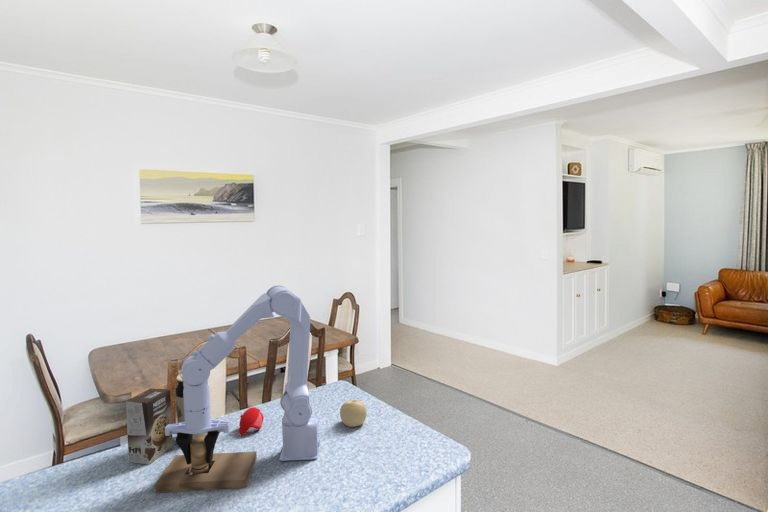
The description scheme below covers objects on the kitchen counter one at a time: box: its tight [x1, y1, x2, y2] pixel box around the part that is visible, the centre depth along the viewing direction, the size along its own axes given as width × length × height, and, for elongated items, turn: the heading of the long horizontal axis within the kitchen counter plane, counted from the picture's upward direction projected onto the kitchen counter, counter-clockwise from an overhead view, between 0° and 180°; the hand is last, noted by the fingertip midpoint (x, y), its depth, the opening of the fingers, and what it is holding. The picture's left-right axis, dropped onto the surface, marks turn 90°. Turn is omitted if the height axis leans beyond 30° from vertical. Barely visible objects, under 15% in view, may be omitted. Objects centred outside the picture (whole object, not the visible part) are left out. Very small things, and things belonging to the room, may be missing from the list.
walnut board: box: [154, 451, 258, 494], centre depth 105 cm, size 20×12×2 cm, turn 95°
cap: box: [238, 407, 264, 436], centre depth 127 cm, size 8×6×6 cm
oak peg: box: [190, 437, 210, 474], centre depth 105 cm, size 4×4×8 cm
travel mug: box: [175, 373, 208, 439], centre depth 122 cm, size 8×8×18 cm
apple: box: [339, 399, 368, 428], centre depth 130 cm, size 8×8×8 cm
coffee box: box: [125, 387, 174, 465], centre depth 114 cm, size 9×6×16 cm
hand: (199, 461), depth 105 cm, fingers closed on oak peg, 4 cm apart
